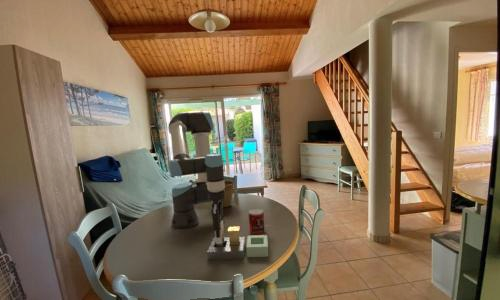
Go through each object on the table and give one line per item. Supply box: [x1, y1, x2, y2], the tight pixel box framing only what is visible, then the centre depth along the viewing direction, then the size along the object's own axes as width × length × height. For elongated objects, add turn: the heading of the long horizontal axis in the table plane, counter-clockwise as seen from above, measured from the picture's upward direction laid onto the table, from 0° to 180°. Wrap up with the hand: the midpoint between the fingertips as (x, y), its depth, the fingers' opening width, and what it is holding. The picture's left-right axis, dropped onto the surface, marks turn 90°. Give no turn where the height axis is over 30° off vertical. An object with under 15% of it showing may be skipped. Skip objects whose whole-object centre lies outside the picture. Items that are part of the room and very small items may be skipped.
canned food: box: [248, 208, 265, 235], centre depth 122 cm, size 8×8×11 cm
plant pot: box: [222, 180, 235, 208], centre depth 162 cm, size 15×15×16 cm
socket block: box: [206, 236, 246, 261], centre depth 105 cm, size 12×15×4 cm
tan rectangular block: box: [227, 226, 241, 246], centre depth 104 cm, size 4×5×10 cm
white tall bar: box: [215, 214, 225, 247], centre depth 104 cm, size 4×4×17 cm
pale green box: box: [245, 234, 269, 258], centre depth 104 cm, size 10×9×4 cm
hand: (220, 240), depth 105 cm, fingers closed on white tall bar, 4 cm apart
